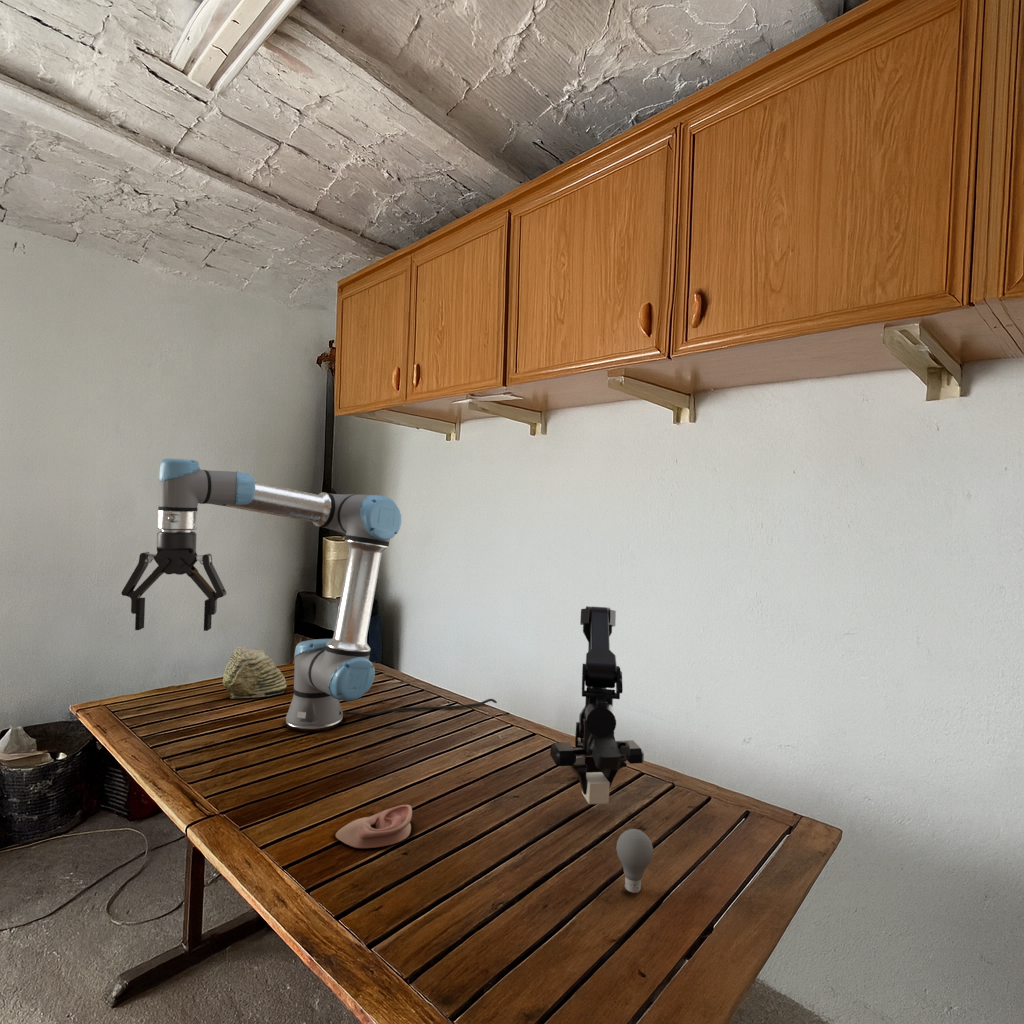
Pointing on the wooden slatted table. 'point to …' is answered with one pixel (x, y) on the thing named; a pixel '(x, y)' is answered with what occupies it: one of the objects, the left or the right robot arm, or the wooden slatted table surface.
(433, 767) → the wooden slatted table surface
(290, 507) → the left robot arm
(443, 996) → the wooden slatted table surface
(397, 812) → the anatomical model
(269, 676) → the fossil
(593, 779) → the block
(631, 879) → the light bulb
